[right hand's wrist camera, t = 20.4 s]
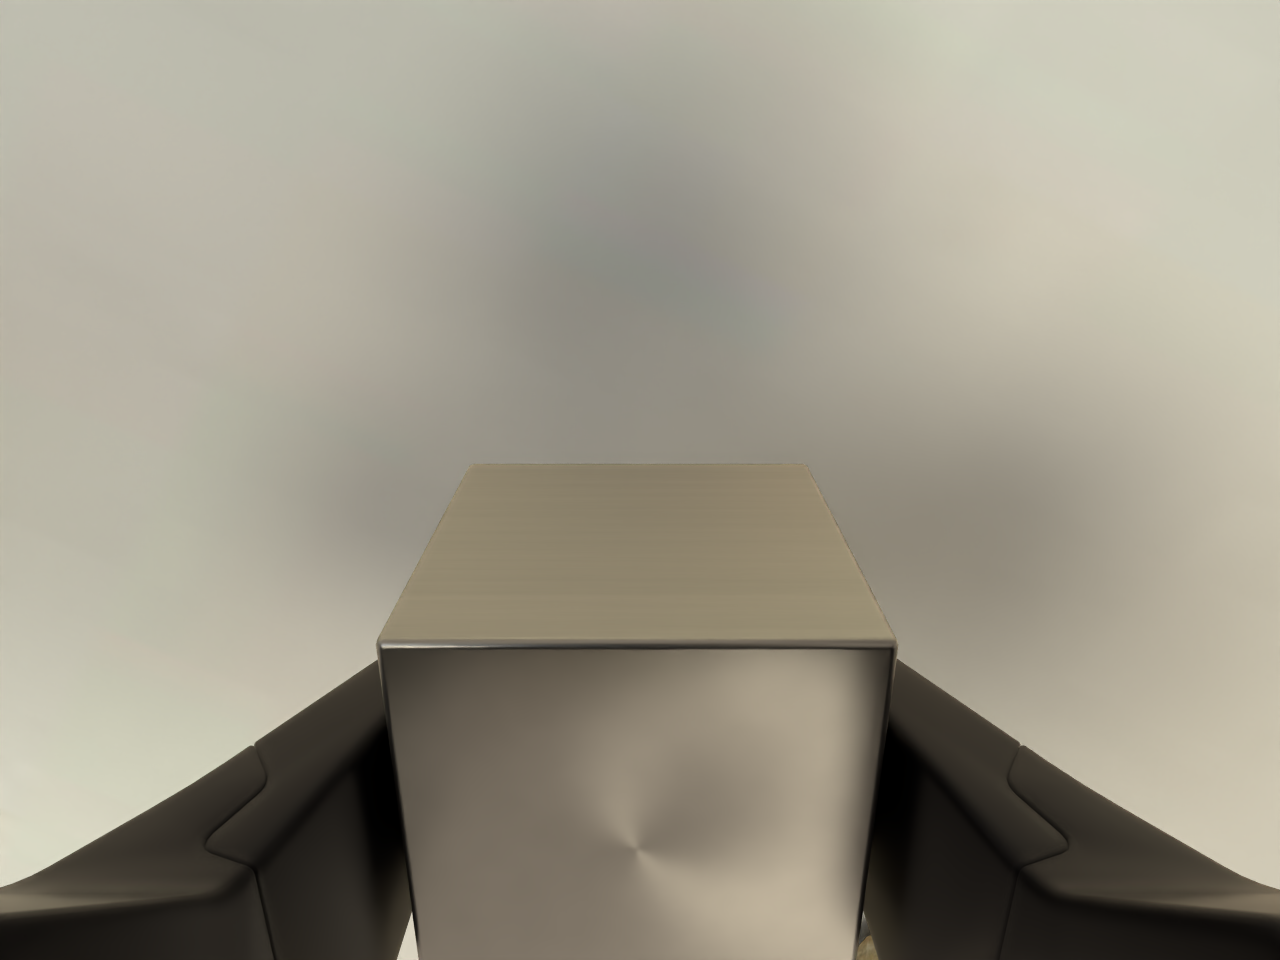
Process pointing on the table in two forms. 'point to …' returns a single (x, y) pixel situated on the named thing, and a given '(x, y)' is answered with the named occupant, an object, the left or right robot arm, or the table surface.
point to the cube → (637, 717)
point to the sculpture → (867, 950)
